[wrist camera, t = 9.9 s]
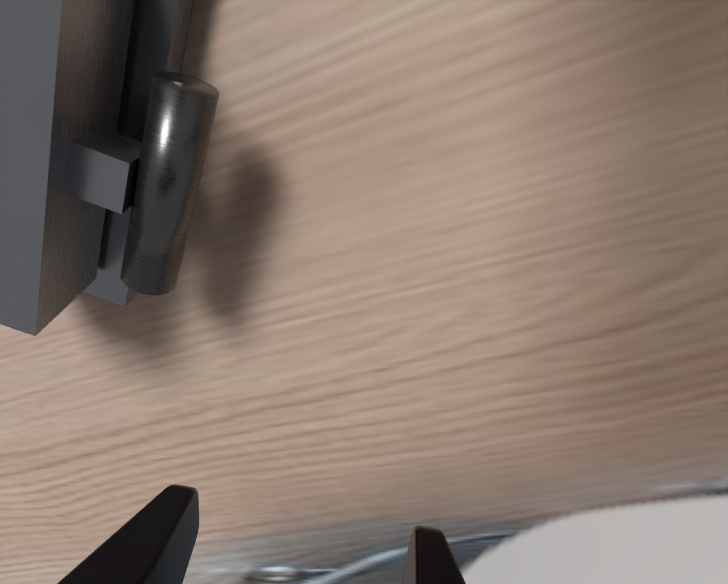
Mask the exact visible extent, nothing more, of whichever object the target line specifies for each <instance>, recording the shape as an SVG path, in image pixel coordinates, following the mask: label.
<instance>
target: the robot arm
mask: <svg viewBox="0 0 728 584" xmlns="http://www.w3.org/2000/svg"><path fill="white" fill-rule="evenodd" d="M198 529H199V501H198V491H197V490H196V488H193V487H188V486H182V485H176V484H174V485H170V486H168V487H167V488H166V489H164V490H163V491H162V492H161V493H160V494H159V495H158V496H156V497H155V498H154V499H153V500H152V501H151V502H150V503H148V504H147V505H146V506H145V507H144V508H143V509H142V510H141V511H139V512H138V513H137V514H136V515H135V516H134V517H133V518H131V519H130V520H129V521H128V522H127V523H126V524H125V525H123V526H122V527H121V528H120V529H119V530H118V531H117V532H115V533H114V534H113V535H112V536H111V537H110V538H109V539H108V540H106V541H105V542H104V543H103V544H102V545H101V546H100V547H98V548H97V549H96V550H95V551H94V552H93V553H92V554H90V555H89V556H88V557H87V558H86V559H85V560H84V561H82V562H81V563H80V564H79V565H78V566H77V567H76V568H75V569H73V570H72V571H71V572H70V573H69V574H68V575H67V576H65V577H64V578H63V579H62V580H61V581H60V582H59V583H57V584H182V582H183V579H184V576H185V573H186V570H187V567H188V563H189V560H190V557H191V554H192V551H193V547H194V544H195V541H196V538H197V534H198ZM403 584H466V583H465V581H464V579H463V577H462V574H461V572H460V570H459V568H458V565H457V563H456V561H455V558H454V556H453V554H452V552H451V549H450V547H449V545H448V543H447V540H446V538H445V536H444V534H443V532H442V531H441V530H440V529H437V528H432V527H426V526H420V525H419V526H416V527H415V528H414V529H413V533H412V537H411V541H410V545H409V549H408V552H407V556H406V561H405V567H404V576H403Z"/></svg>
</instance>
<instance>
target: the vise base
mask: <svg viewBox="0 0 728 584" xmlns="http://www.w3.org/2000/svg"><path fill="white" fill-rule="evenodd" d="M192 6H193V0H135V1H134V8H133V15H132V23H131V30H130V37H129V44H128V52H127V59H126V66H125V73H124V81H123V88H122V95H121V102H120V109H119V117H118V124H117V131H116V133H117V134H120V135H123V136H125V137H128V138H131V139H133V140H136V141H138V142H141V143H142V140H143V134H144V128H145V122H146V116H147V110H148V104H149V97H150V91H151V85H152V79H153V74H154V73H155V72H159V71H170V72H177V73H180V70H181V65H182V59H183V54H184V49H185V43H186V38H187V32H188V27H189V22H190V16H191V11H192ZM131 208H132V206H131V207H130V208H129V209H127V210H126V211H125V212H124V213H123V214H120V213H117V212H114V211H111V210H109V209H106V211H105V218H104V225H103V233H102V240H101V247H100V254H99V262H98V269H97V276H96V279H95V280H94V281H93V282H92V283H91V284H90V285H89V286H88V287H87V288H86V289H85V290H84V291H82V292H84V293H86V294H89V295H92V296H95V297H98V298H101V299H103V300H106V301H109V302H112V303H115V304H118V305H120V306H123V307H125V306H126V305H127V304H128V303H129V302H130V300H131V299H132V298H133V297H134V296H135V295H136V294H137V293H138V292H136V291H134V290H132V289H130V288H128V287H127V286H126V285H125V284H124V283H123V282H122V280H121V277H120V275H121V269H122V263H123V257H124V250H125V244H126V238H127V232H128V226H129V220H130V214H131Z"/></svg>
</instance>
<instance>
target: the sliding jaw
mask: <svg viewBox="0 0 728 584" xmlns="http://www.w3.org/2000/svg"><path fill="white" fill-rule="evenodd" d="M134 1H135V0H0V324H2V325H5V326H7V327H10V328H13V329H16V330H19V331H22V332H25V333H28V334H31V335H34V336H36V335H37V334H38V333H39V332H40V331H41V330H42V329H43V328H45V327H46V326H47V325H48V324H49V323H50V322H51V321H52V320H53V319H54V318H55V317H56V316H57V315H58V314H59V313H60V312H61V311H62V310H64V309H65V308H66V307H67V306H68V305H69V304H70V303H71V302H72V301H73V300H74V299H75V298H76V297H77V296H78V295H79V294H80V293H81V292H82V291H84V290H85V289H86V288H87V287H88V286H89V285H90V284H91V283H92V282H93V281H94V280H95V279H96V276H97V269H98V262H99V254H100V247H101V240H102V233H103V225H104V218H105V211H106V209H109V210H111V211H114V212H117V213H120V214H123V213H124V212H125V211H126V210H127V209H129V208H130V207H131V206H132V208H131V214H130V220H129V226H128V232H127V238H126V244H125V250H124V257H123V263H122V269H121V275H120V277H121V280H122V282H123V283H124V284H125V285H126V286H127V287H128V288H130V289H132V290H134V291H136V292H139V293H142V294H147V295H161V294H166V293H169V292H170V291H172V290H173V289H174V288H175V287H176V284H177V280H178V275H179V271H180V266H181V262H182V257H183V253H184V248H185V244H186V240H187V235H188V231H189V226H190V222H191V217H192V213H193V208H194V204H195V200H196V195H197V191H198V186H199V182H200V177H201V173H202V168H203V164H204V159H205V155H206V151H207V146H208V142H209V137H210V133H211V128H212V124H213V119H214V115H215V111H216V106H217V102H218V97H219V92H218V90H217V89H216V88H215V87H213V86H212V85H210V84H208V83H206V82H204V81H202V80H200V79H198V78H195V77H192V76H189V75H185V74H181V73H177V72H170V71H159V72H155V73H154V74H153V79H152V85H151V91H150V97H149V104H148V110H147V116H146V122H145V128H144V134H143V140H142V143H141V142H138V141H136V140H133V139H131V138H128V137H125V136H123V135H120V134H117V133H116V131H117V124H118V117H119V109H120V102H121V95H122V88H123V81H124V73H125V66H126V59H127V52H128V44H129V37H130V30H131V23H132V15H133V8H134Z"/></svg>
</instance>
